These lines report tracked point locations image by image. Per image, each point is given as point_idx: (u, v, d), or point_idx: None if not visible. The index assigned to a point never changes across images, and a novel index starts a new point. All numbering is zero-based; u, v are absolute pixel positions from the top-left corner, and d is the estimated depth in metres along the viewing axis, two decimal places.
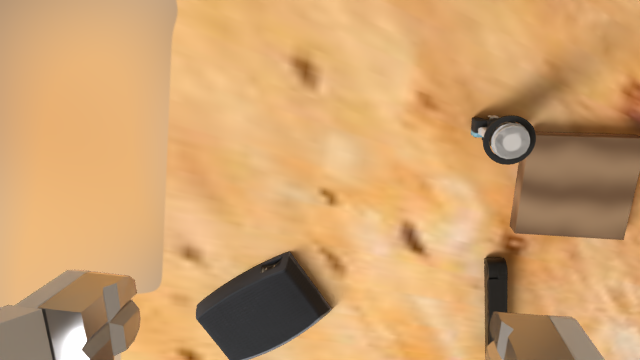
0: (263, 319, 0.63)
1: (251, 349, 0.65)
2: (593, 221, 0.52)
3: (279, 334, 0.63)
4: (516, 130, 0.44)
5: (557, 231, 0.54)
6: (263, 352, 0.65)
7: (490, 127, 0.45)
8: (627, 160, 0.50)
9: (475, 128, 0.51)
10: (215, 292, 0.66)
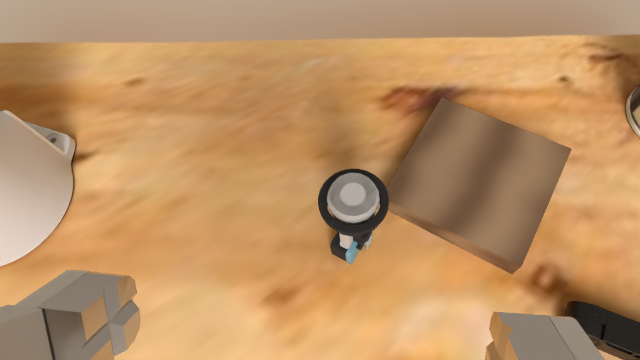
0: None
1: None
2: (532, 170, 0.38)
3: None
4: (340, 183, 0.31)
5: (535, 213, 0.36)
6: None
7: (323, 213, 0.31)
8: (460, 118, 0.42)
9: (340, 250, 0.36)
10: None
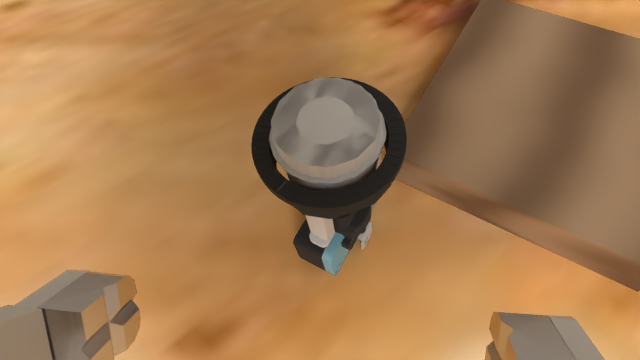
0: None
1: None
2: None
3: None
4: (297, 99, 0.14)
5: None
6: None
7: (260, 168, 0.14)
8: (519, 23, 0.24)
9: (311, 251, 0.19)
10: None
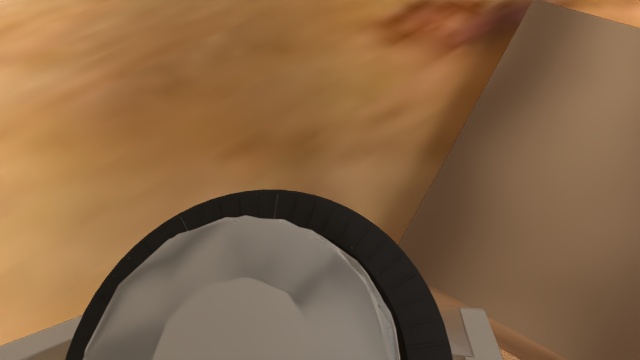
0: None
1: None
2: None
3: None
4: (166, 284, 0.05)
5: None
6: None
7: None
8: (592, 44, 0.16)
9: None
10: None
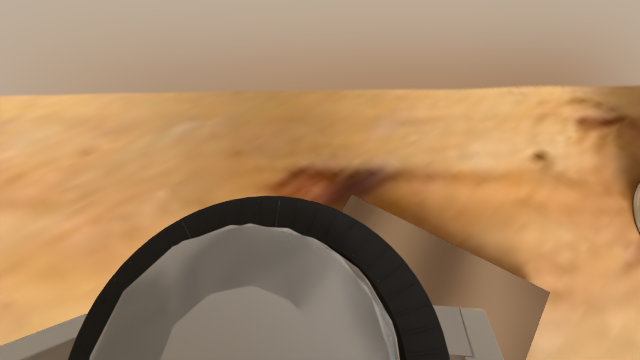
0: None
1: None
2: None
3: None
4: (171, 291, 0.05)
5: None
6: None
7: None
8: (377, 232, 0.26)
9: None
10: None
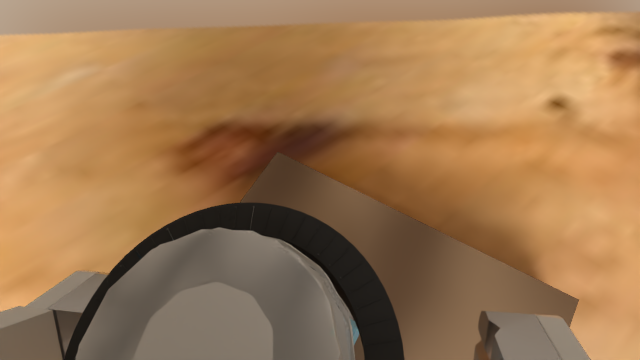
0: None
1: None
2: None
3: None
4: (149, 289, 0.06)
5: None
6: None
7: None
8: (309, 205, 0.17)
9: None
10: None
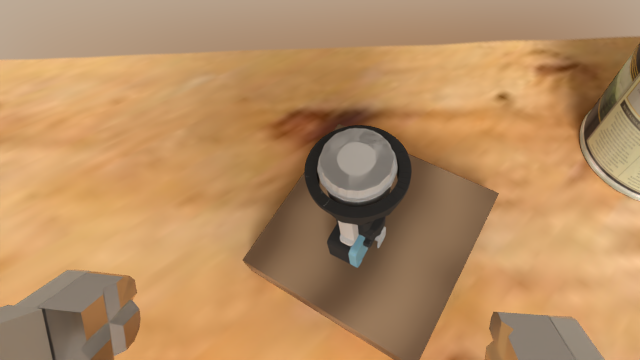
0: None
1: None
2: (444, 223, 0.28)
3: None
4: (336, 144, 0.20)
5: (442, 287, 0.26)
6: None
7: (311, 190, 0.20)
8: None
9: (341, 248, 0.26)
10: None
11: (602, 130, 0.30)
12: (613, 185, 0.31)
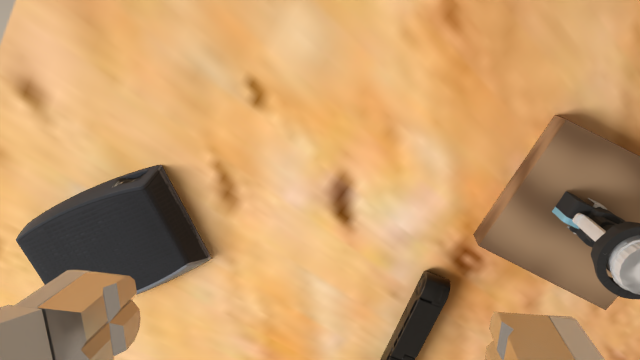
0: (108, 255, 0.44)
1: None
2: (583, 272, 0.37)
3: None
4: None
5: (532, 265, 0.38)
6: None
7: (626, 232, 0.27)
8: None
9: (570, 210, 0.34)
10: (52, 208, 0.46)
11: None
12: None
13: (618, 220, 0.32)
